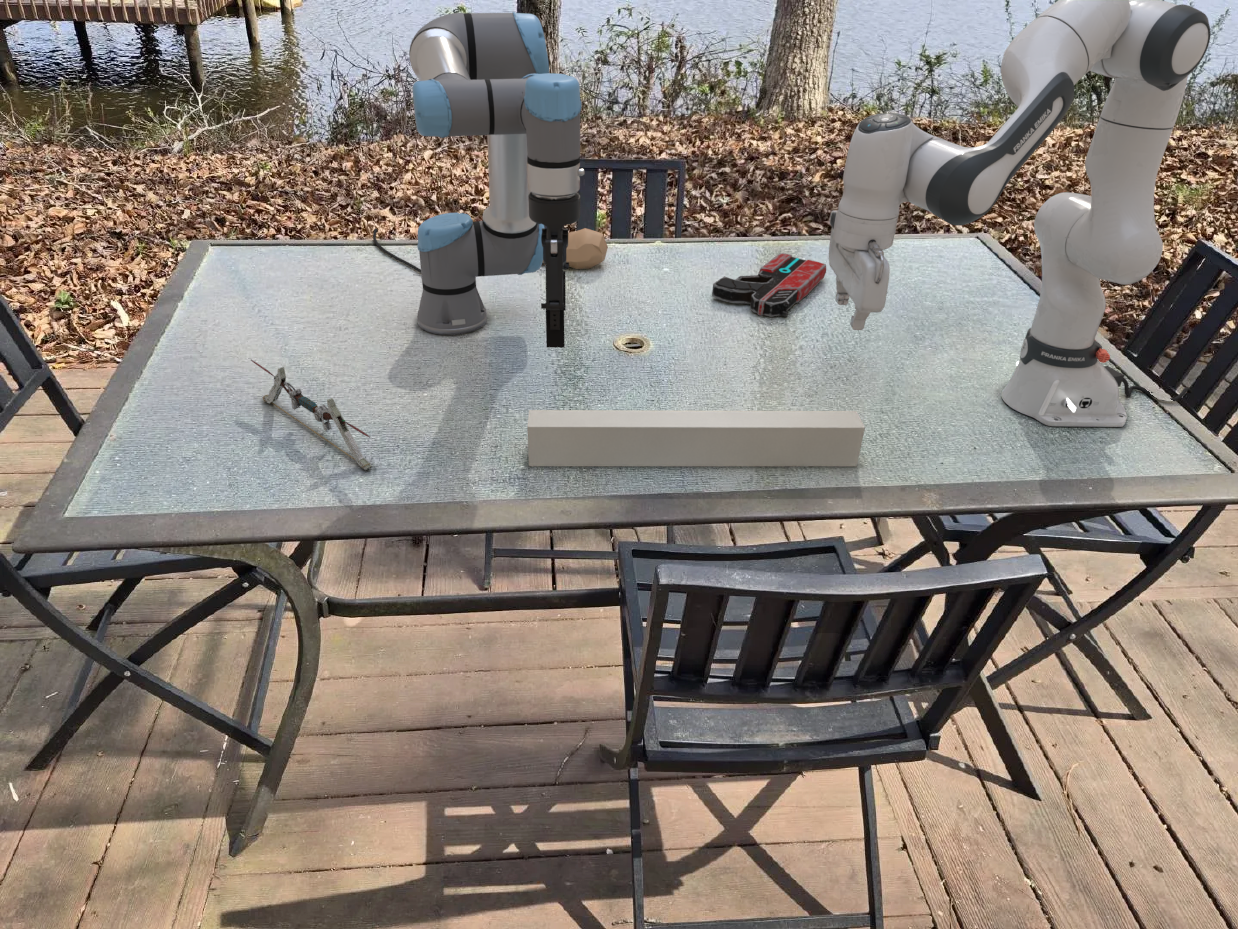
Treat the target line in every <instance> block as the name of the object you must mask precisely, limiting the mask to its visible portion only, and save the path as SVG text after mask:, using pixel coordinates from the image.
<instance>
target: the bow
mask: <svg viewBox="0 0 1238 929" xmlns="http://www.w3.org/2000/svg"><path fill="white" fill-rule="evenodd" d="M250 361H251V362H252V363H253V364H255V365H256V366H257V367H259V368H260V369H262V370H263V371H265V372H266V373H268V374H269V375H271V376H272V377H273V385H272V386H271V388H270V389H269V391H268V394H265V395H263V396H261V398H262V400H263V402H265V403H267V404H269V405H270V404H272V405H273V406H275V407H277V409H279V410H281V411H282V412H284V413H285V414H286V415H288V416H289V417H291V418H292V419H294V420H295V421H296V422H298V423H300V424H301V425H302V426H304V427H306V428H307V429H308V430H309V431H312V432H313V433H314V434H316V435H317V436H318V437H320V438H322V439H323V440H324V441H326V442H328V443H329V444H331V445H332V446H333V447H335V448H336V449H338V450H339V451H340V452H342V453H344V454H345V455H347V456H348V457H349V458H351V459H353V460H354V461H355V462H356V463H357V464H358V465H357V466H359V467H360V468H361V469H363V470H365V471H368V469H369V468H370V469H372V468H373V465H371V462H369V461H368V460H367V459H366V458H365V456H364V455H363V453H362V452H361V449H360V447H359V445H358V444H357V442H356V440H355V439H354V436H353V435H352V434H351V432H350V429H349V427H350V428H351V429H354V430H355V431H357V432H359V433H361V434H362V435H363V436H365V437H368V438H371V436H370V435H369V434H368V433H366V432H364V431H363V430H362V429H360V428H358V427H357V426H355V425H353V424H351V423H348V422H347V421H346V420H345V418H344V417H343V415H342V413H341V411H340V409H339V408H338V406H337V403H336V402H335V400H334V398H333V397H330V398H327V399H326V403H327V405H326V404H322V405H320V406H318V404H317V403H316V402H315V401H313V400H311V399H310V398H309V397H307V396H304V395H303V394H302V393H303V392H302V389H301V388H297V389H296V388H295V387H294V386H293V385H292V384H291V383H290V382H288V381H286V380H287V375H286V370H285V367H284V366H282V367H278V368H277V373H276V375H274V374H273V373H272V372H271V371H270V370H269V369H266V368H265V367H264V366H263V365H262V364H260V363H258V362H257V361H255V360H253V359H250ZM282 390H285V392H286V393H287V394H288V397H289V399H290V401H291V409H292V410H293V411H295V410H297V409H300V408H301V407H302V408H304V409H306V410H307V411H309V412H310V413H312V414H313V415H314V418H315V421H317V422H318V423H319V422H320V423H322V427H323V431H325V432H327V431H330V430H333V429H332V425H331V422H330V420H332V421H333V422H334V424H335V425H336V427H337V430H338V431H339V433H340V435H341V437H342V440H343V441H344V443H345V445H346V446H347V448H348V450H349V452H350V454H351V455H350V454H348V453H347V452H345V451H344V450H343V449H341V448H340V447H338V446H337V445H336V444H334V443H332V442H331V441H330V440H328V439H326V438H325V437H324V436H322V435H321V434H319V433H318V432H316V431H315V430H314V429H312V428H311V427H310V426H308V425H306V424H305V423H303V422H302V421H300V420H299V419H297V417H295V416H293V415H292V414H291V413H289V412H287V411H285V410H284V409H282V408H281V407H280V406H278V405H277V404H275V402H276V401H278V399H279V397H280V395H281V393H282ZM348 426H349V427H348Z"/></svg>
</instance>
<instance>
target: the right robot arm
mask: <svg viewBox="0 0 1238 929" xmlns="http://www.w3.org/2000/svg"><path fill="white" fill-rule="evenodd" d="M1211 33H1212V32H1211V27H1210V22H1209V17H1208V16H1207V15H1206V13H1204V12H1203V11H1201V10H1200V9H1197V8H1196V7H1193V6H1190V5H1187V4H1183V3H1182V4H1176V3H1172V2H1169V1H1167V0H1165V1H1164V0H1057V1H1055V2H1054V3H1053V4H1051V5H1050V6H1048V8H1046V9H1044V11H1042V12H1041V13H1040V14H1039V15H1038V16H1037V17H1036V18H1034V19H1033V20H1032V21H1030V23H1029V24H1027V25H1026V26H1025V27H1024V28H1023V29H1022V30H1021V31H1019V32H1018V34H1016V36H1015V37H1013V39H1012V40H1011V42H1010V43H1009V44H1008V46H1007V47H1006V49H1005V50H1004V52H1003V55H1002V59H1001V66H1000V74H1001V81H1002V83H1003V87H1004V89H1005V91H1006V94H1007V95H1008V97H1009V98H1010V100H1011V101H1012V103H1014V105H1015V106H1017V109H1016V110H1015V111H1014V112H1013V113H1012V114H1011V116H1009V118H1008V119H1007V120H1006V121H1005V123H1003V125H1002V126H1001V127H1000V128H999V129H998V130H997V131H996V133H995V134H994V135H993V136H992V137H991V138H990V139H989V141H987V142H986V143H984V144H981V145H977V146H972V147H969V146H963V145H960V144H957V143H954V142H951V141H949V140H946V139H944V138H942V137H938V136H935V135H933V134H931V133H928V132H927V131H924V130H922V129H921V128H919V127H918V126H916V124H914V122H913V121H912V118H911V117H909V116H907V115H905V114H902V113H897V112H886V113H885V112H882V113H876V114H871V115H869V116H867V117H865V118H864V119H863V118H862V120H860V121H859V122H858V124H857V125H856V128H855V130H854V131H853V134H852V136H851V139H850V143H849V146H848V150H847V153H846V158H845V164H844V170H843V176H842V184H843V192H842V195H841V196H842V197H841V198H840V200H839V203H838V206H837V210H831V212H830V214H829V226H831V230H830V236H829V246H828V264H829V267H830V268H831V270H832V271H833V273H834V275H835V288H836V289H835V290H836V293H835V302H836V304H837V305H838V306H847V305H848V304H849V300H850V299H851V301H852V302H853V304H854V310H855V311H854V313H853V315H851V317H850V327H851V328H852V330H853V331H863V330H864V329H865V326H866V320H867V319H868V317H869V316H870V315H871V314H874V313H881V312H882V311H883V309H884V308H885V306H886V302H887V295H888V288H889V282H890V272H891V271H890V270H891V268H890V263H889V260H888V259H887V258H886V257H885V252H884V250H888V249H890V248H891V247H893V244H894V241H895V240H894V239H895V235H896V231H897V230H896V229H897V224H898V221H899V215H900V207H901V206H900V205H902V204H903V203H910V204H912V205H914V206H916V207H918V208H920V209H923V210H925V211H927V212H930V213H932V214H933V215H934V216H936V217H938V218H939V219H941V220H942V221H944V222H946V223H948V224H949V225H952V226H958V227H959V226H964V225H965V226H966V225H969V224H971V223H973V222H975V221H977V220H979V219H980V218H982V217H983V216H985V215H987V213H988V212H989V211H990V210H991V209H992V208H993V207H994V206H995V204H996V203H997V201H998V200H999V198H1000V196H1001V195H1002V194H1003V191H1004V190H1005V188H1006V186H1007V185H1008V184H1009V183H1010V181H1011V180H1012V178H1013V177H1014V176H1015V175H1016V174H1017V173H1018V171H1019V170H1020V169H1021V168H1022V167H1023V166H1024V165H1025V163H1026V162H1027V161H1028V160H1029V159H1030V158H1031V157H1032V156H1033V154H1034V153H1035V152H1036V151H1037V150H1038V148H1039V147H1040V146H1041V145H1042V144H1043V143H1044V142H1045V140H1046V139H1047V138H1048V137H1049V135H1050V134H1051V133H1052V132H1053V131H1054V130H1055V128H1056V127H1057V126H1058V125H1059V124H1060V123H1061V121H1062V120H1063V118H1064V117H1065V115H1066V114H1067V113H1068V111H1069V109H1070V108H1071V106H1072V103H1073V102H1074V97H1075V85H1077V83H1078V82H1079V81H1080V80H1081V79H1082V78H1083V77H1084V76H1085V75H1086V74H1087V73H1089V72H1093V73H1095V74H1097V75H1101V76H1104V77H1107V78H1112V79H1114V81H1113V83H1112V85H1111V88H1110V90H1109V92H1108V94H1107V97H1106V99H1105V102H1104V104H1103V106H1102V110H1101V112H1100V116H1099V117H1098V121H1097V124H1096V127H1095V130H1094V133H1093V136H1092V139H1091V141H1090V145H1089V148H1088V151H1087V153H1086V157H1085V161H1084V169H1085V173H1086V176H1087V178H1088V180H1089V183H1090V192H1091V195H1089V194H1083V193H1077V192H1068V191H1067V192H1066V191H1065V192H1060V193H1056V194H1054V195H1053V196H1051V197H1049V198H1048V199H1046V201H1045V202H1044V203H1042V205H1041V206H1040V207H1039V209H1038V211H1037V213H1036V216H1035V218H1034V221H1033V223H1034V224H1033V229H1034V234H1035V236H1036V238H1037V240H1038V243H1039V247H1040V248H1039V249H1040V254H1041V288H1040V293H1039V294H1040V295H1039V299H1038V302H1037V306H1036V309H1035V313H1034V317H1033V320H1032V323H1031V326H1030V328H1028V329H1027V332H1026V334H1025V337H1024V339H1023V341H1022V345H1021V348H1020V352H1019V360H1018V361H1016V363H1015V369H1014V371H1013V373H1012V374H1011V377H1010V378H1009V380H1008V381H1007V384H1006V385H1005V386H1004V388H1003V389H1002V390H1001V393H1000V395H1001V399H1002V401H1003V402H1004V403H1005V404H1006V405H1008V407H1010V408H1011V409H1013V410H1015V411H1016V412H1019V413H1021V414H1023V415H1026V416H1028V417H1031V418H1033V419H1034V420H1037V421H1038V422H1040V423H1041V424H1043V425H1044V426H1047V427H1076V428H1077V427H1081V428H1082V427H1085V428H1087V427H1089V428H1091V427H1092V428H1093V427H1094V428H1122V427H1124V426H1125V424H1126V423H1127V418H1128V415H1127V414H1128V413H1127V410H1126V408H1125V406H1124V405H1123V403H1122V402H1121V401H1120V387H1121V385H1122V383H1123V386H1124V395H1125V396H1126V397H1131V395H1132V392H1133V391H1134V390H1135V391H1140V392H1143V393H1145V394H1147V396H1150V397H1152V398H1154V399H1156V400H1158V399H1157V398H1155V397H1154V396H1153V395H1151V394H1150V392H1149V391H1150V390H1149V391H1147V390H1146V389H1147V388H1146V389H1145V387H1143V386H1141V385H1140V386H1138V385H1131V386H1129V381H1128V380H1127V378H1125V374H1123V373H1121V372H1120V371H1118V370H1117V369H1114V368H1112V367H1110V366H1109V365H1103V364H1104V363H1107V362H1108V361H1110V359H1111V355H1110V354H1109V352H1108V351H1107V349H1104V348H1103V346H1102V345H1101V343H1100V342H1098V341H1097V339H1096V337H1097V333H1098V331H1099V329H1100V326H1101V322H1102V320H1103V317H1104V315H1105V312H1106V307H1107V301H1106V297H1105V293H1104V291H1103V289H1102V286H1101V281H1100V280H1102V281H1106V282H1110V283H1113V284H1119V285H1123V286H1124V285H1132V284H1135V283H1137V282H1140V281H1142V280H1143V279H1145V278H1146V277H1147V276H1148V275H1150V274H1151V273H1152V272H1153V271H1154V269H1155V268H1156V267H1157V266H1158V264H1159V263H1160V261H1161V258H1162V255H1163V249H1164V243H1163V240H1162V237H1161V234H1160V233H1159V231H1158V227H1157V223H1156V219H1155V190H1156V182H1157V177H1158V173H1159V169H1160V166H1161V164H1162V161H1163V159H1164V158H1163V157H1164V155H1165V152H1166V149H1167V146H1168V144H1169V141H1170V138H1171V136H1172V132H1173V130H1174V127H1175V124H1176V122H1177V120H1178V117H1179V114H1180V110H1181V107H1182V104H1183V100H1184V97H1185V92H1186V87H1187V83H1188V77H1189V75H1190V74H1192V73H1193V72H1194V71H1195V69H1196V68H1197V67H1198V66H1199V64H1201V62H1202V61H1203V58H1204V57H1205V55H1206V53H1207V51H1208V48H1209V45H1210V41H1211V35H1212V34H1211ZM1151 393H1154V392H1153V391H1151ZM1186 393H1188V394H1193V390H1192V389H1191V388H1190V387H1184V388H1183V389H1182V390H1181V392H1180V393H1179V394H1178V395H1176V396H1174V397H1169V398H1170V399H1171V400H1173V401H1174V402H1177V401H1179V400H1181V399H1182V398H1183V397H1184V396H1185V395H1186Z"/></svg>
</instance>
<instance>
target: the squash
mask: <svg viewBox="0 0 1238 929" xmlns="http://www.w3.org/2000/svg"><path fill="white" fill-rule="evenodd" d="M608 248H609V246H608V244H607V241H606V239H605V236H604V234H603V232H599V231H597V230H593V229H590V228H586V227H584V228H582V229H577V230H575V231H570V232H569V231H568V247H567V249H566V262H569V268H573V269H576V270H586V269H587V270H589V269H591V268H593V267H595V266H597V265H599V264H601V263H603V262H604V261H605V259H606V256H607V253H608ZM542 264H544V262H542Z"/></svg>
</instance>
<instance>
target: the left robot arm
mask: <svg viewBox="0 0 1238 929" xmlns="http://www.w3.org/2000/svg"><path fill="white" fill-rule="evenodd" d="M410 42H411V43H410V45H409V52H408V53H409V62H410V67H411V69H412V71H413V73H414V75H415V76H416V78H417V79H418V81H417V80H416V81H415V82H414V83H413V84H412V100H413V111H414V118H415V120H414V121H415V127H416V131H417V133H418V134H419V135H421V136H423V137H438V138H441V139H443V138H444V139H445V138H448V137H450V138H451V137H468V136H469V137H471V136H473V137H474V136H486V137H487V166H488V167H487V168H488V169H487V170H488V198H489V199H488V202H489V203H488V204H489V206H488V207H486V208H485V209H484V211H483V212H482V220H477V221H473V218H472V217H471V216H470V215H469V214H468V213H464V212H460V213H459V212H447V213H442V214H441V213H440V214H437V215H434V216H431V217H429V218H427V219H426V220H424V221H423V222H421V224H419V226H418V229H417V247H416V248H417V250H418V252H419V253H418V254H419V263H420V268H419V267H417V266H416V265H414V264H412V263H411V262H409V261H407V260H404V259H403V258H401V257H399V256H397V255H395V254H393V253H392V252H390V251H389V250H387V249H385V248H384V247H383V246H382V245H381V244H380V243H379V241H378V240H377V233H379V230H378V228H377V227H375V228H374V229H373V233H372V240H373V243H374V245H375V246H376V247H377V248H379V249H380V250H381V251H382V252H383V253H384V254H386V255H387V256H389V257H391V258H392V259H394V260H395V261H398V262H399V263H402V264H404V265H406V266H408V267H409V268H410V269H413V270H415V271H416V272H418V273H420V275H421V276H420V277H421V284H422V292H421V297H420V302H419V305H418V310H417V316H416V318H417V325H418V326H419V328H420V329H421V330H423V331H424V332H427V333H430V334H433V335H440V336H459V335H465V334H469V333H473V332H476V331H477V330H480V329H481V328H483V327H484V326H485V325H486V323H487V320H488V316H487V310H486V306H485V304H484V302H483V299H482V298H481V295H480V293H479V291H478V288H477V277H479V278H481V277H492V276H493V277H495V276H508V275H518V276H522V275H524V274H533V273H535V272H538V271H539V270H540V268H541V267H542V265H543V264H544V265H545V303H544V302H543V303H542V302H541V303H540V309H541V310H545V338H546V339H545V340H546V342H545V344H546V348H552V349H553V348H560V349H562V348H565V346H566V345H565V343H566V342H565V312H566V309H567V302H566V301H567V300H566V297H567V296H566V294H567V293H566V270H570V266H569V262H566V249H567V247H568V233H569V228H565V226H566V225H572V224H575V223H577V222H578V221H579V220H580V218H581V194H580V193H579V191H580V189H581V177H583V176H584V175H585V174H586V173H585V172H586V171H585V169H584V168H580V167H581V111H582V104H583V103H582V101H581V87H580V82H579V80H578V79H577V78H576V77H574V76H572V75H568V74H564V73H556V72H555V73H553V72H552V73H550V65H549V64H550V63H549V57H548V49H547V44H546V39H545V33H544V29H543V26H542V22H541V21H540V18H539V17H538V16H537V15H535V14H534V13H526V12H525V13H523V12H516V11H512V12H453V13H447V14H444V15H441V16H439V17H436V18H434V19H432V20H429V22H427V23H425V25H423V26H422V27H421V28H419V29H418V30H417V32H416V33H415V35H414V36H413V38H412V39H411V41H410ZM545 227H546V228H545ZM542 262H544V263H542Z"/></svg>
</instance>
